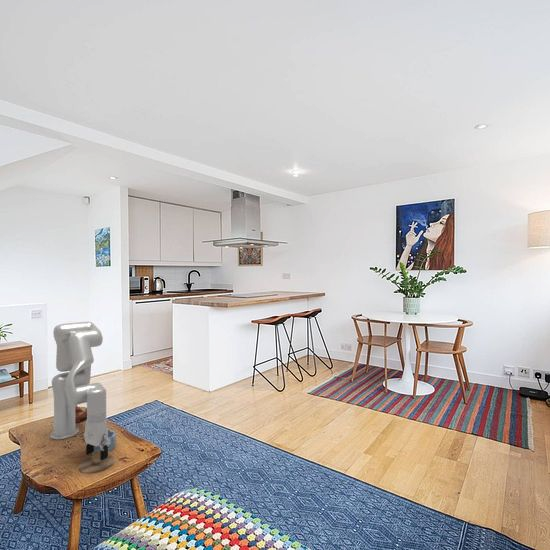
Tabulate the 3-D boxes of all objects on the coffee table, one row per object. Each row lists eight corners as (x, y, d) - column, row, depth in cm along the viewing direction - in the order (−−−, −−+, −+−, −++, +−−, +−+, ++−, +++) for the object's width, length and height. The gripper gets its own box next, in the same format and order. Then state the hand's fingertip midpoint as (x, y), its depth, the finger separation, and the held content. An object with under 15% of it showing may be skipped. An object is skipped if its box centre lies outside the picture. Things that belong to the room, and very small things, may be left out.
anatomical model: (98, 406, 202) (77, 390, 200) (81, 425, 191) (59, 408, 189) (90, 412, 208) (70, 396, 205) (74, 431, 197) (53, 414, 194)
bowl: (82, 450, 163) (82, 437, 163) (105, 440, 173) (105, 428, 173) (98, 456, 158) (98, 443, 158) (120, 445, 168) (120, 433, 168)
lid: (71, 468, 149) (71, 455, 149) (100, 454, 161) (100, 442, 161) (92, 477, 142) (92, 463, 142) (121, 461, 155) (121, 448, 155)
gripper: (76, 416, 152) (76, 455, 152) (101, 423, 144) (101, 465, 144) (92, 410, 159) (92, 447, 159) (117, 417, 151) (117, 456, 150)
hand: (97, 456), depth 151 cm, fingers open, 9 cm apart
